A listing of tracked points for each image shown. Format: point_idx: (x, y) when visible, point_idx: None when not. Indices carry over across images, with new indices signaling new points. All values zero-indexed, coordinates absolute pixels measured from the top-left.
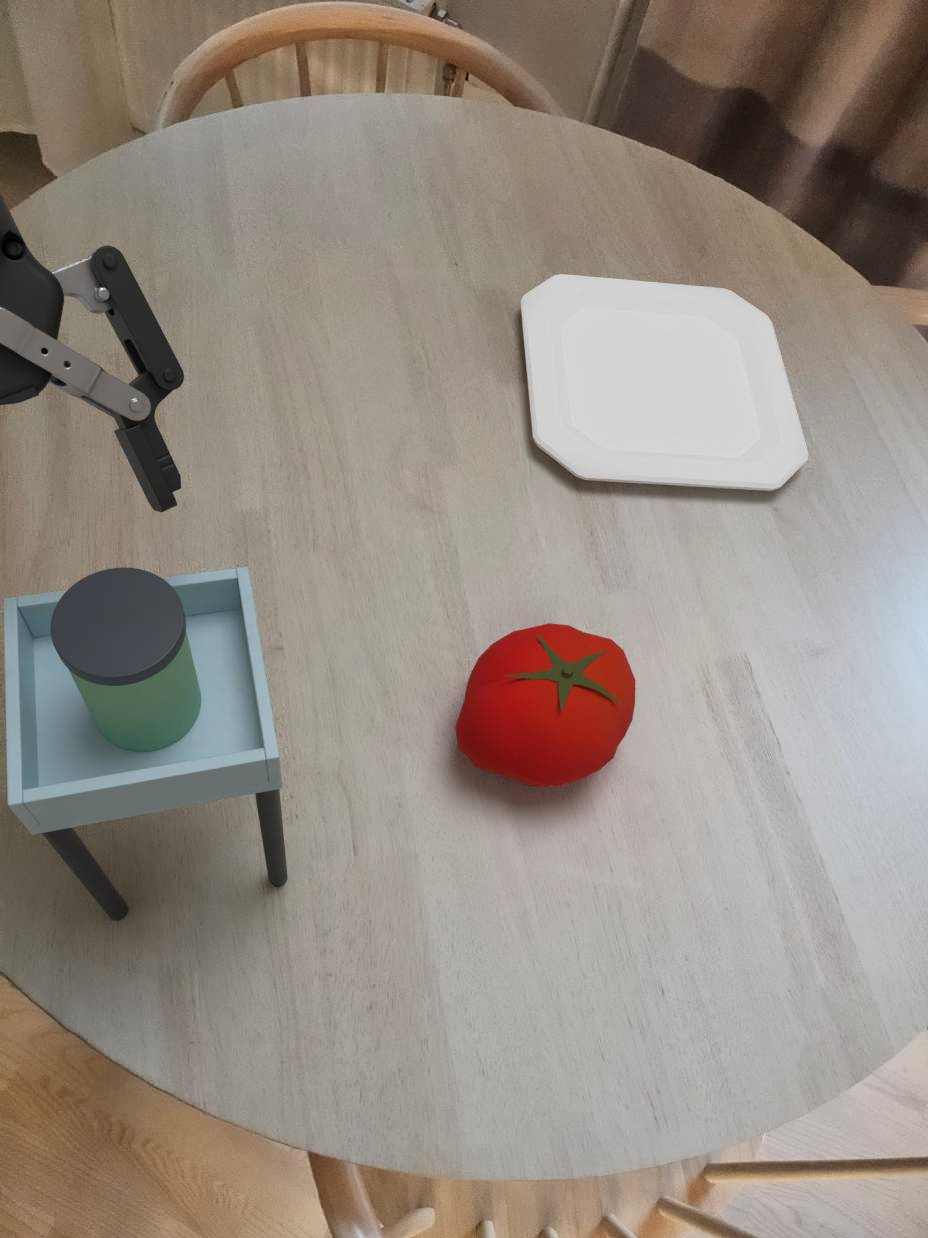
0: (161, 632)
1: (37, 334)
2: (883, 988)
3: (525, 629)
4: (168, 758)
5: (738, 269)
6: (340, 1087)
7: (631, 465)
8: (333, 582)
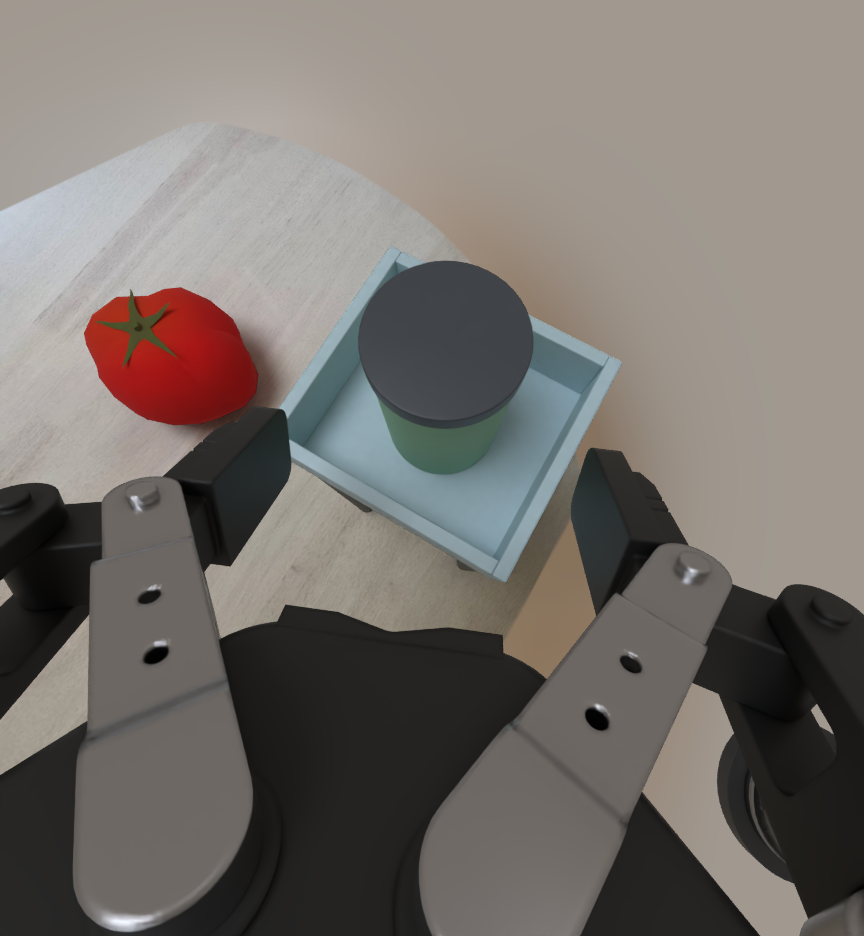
0: (412, 289)
1: (112, 713)
2: (192, 140)
3: (128, 390)
4: None
5: None
6: None
7: None
8: (214, 590)
